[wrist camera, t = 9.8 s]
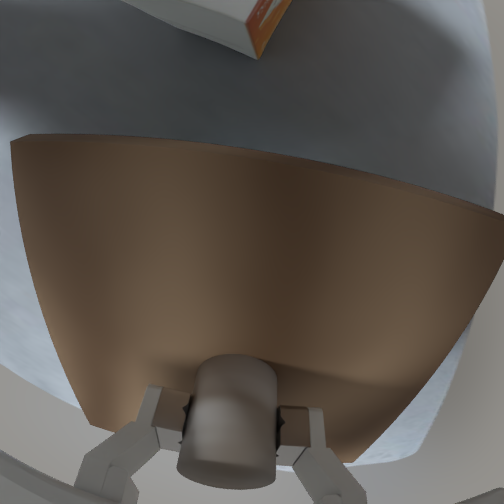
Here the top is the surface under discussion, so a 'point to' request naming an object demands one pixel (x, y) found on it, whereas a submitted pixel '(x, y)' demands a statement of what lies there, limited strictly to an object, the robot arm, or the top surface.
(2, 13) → the top surface
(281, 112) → the top surface
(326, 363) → the walnut lid
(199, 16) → the small box
